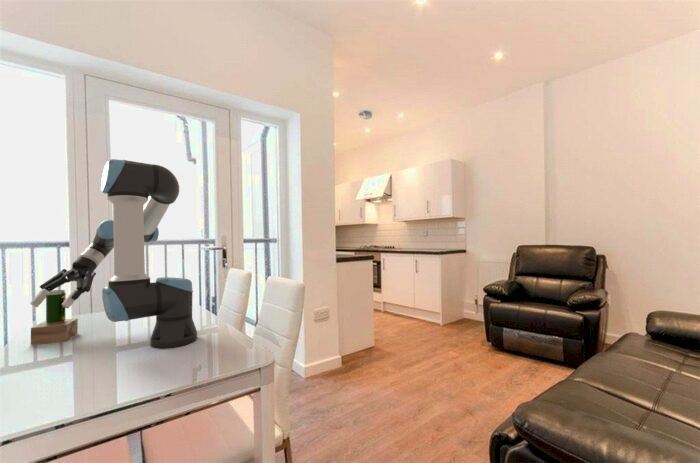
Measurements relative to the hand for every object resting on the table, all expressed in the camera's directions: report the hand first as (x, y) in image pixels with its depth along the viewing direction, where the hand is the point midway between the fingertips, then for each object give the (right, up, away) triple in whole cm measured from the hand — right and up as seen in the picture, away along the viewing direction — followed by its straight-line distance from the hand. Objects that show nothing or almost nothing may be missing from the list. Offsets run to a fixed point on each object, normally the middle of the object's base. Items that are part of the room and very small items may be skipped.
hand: (49, 305), depth 118 cm
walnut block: (0, -13, +2) cm, 13 cm away
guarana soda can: (0, -7, +2) cm, 7 cm away
